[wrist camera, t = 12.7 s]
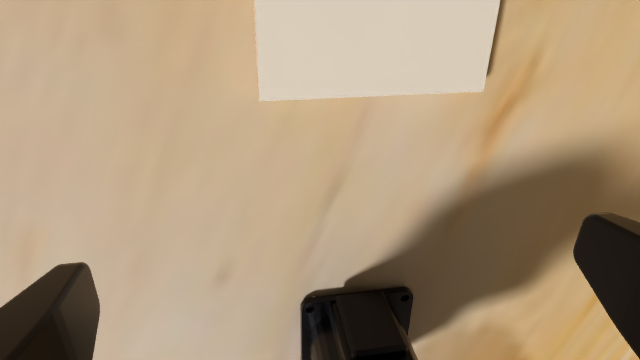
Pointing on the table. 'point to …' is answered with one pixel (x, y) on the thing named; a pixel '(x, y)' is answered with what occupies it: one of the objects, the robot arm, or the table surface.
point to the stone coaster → (371, 47)
